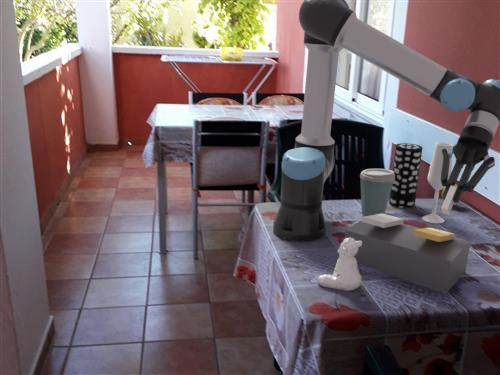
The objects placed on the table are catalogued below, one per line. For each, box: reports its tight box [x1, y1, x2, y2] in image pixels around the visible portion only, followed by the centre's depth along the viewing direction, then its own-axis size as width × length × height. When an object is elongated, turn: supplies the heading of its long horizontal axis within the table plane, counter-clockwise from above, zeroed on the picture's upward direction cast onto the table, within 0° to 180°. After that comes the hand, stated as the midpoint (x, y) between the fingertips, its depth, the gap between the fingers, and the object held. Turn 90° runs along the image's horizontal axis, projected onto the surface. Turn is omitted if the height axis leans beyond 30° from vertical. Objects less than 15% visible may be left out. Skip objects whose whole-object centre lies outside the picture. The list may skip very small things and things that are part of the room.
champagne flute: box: [421, 141, 454, 224], centre depth 150 cm, size 7×7×24 cm
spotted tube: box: [388, 142, 423, 209], centre depth 164 cm, size 8×8×20 cm
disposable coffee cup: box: [359, 168, 395, 217], centre depth 153 cm, size 11×11×15 cm
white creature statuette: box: [317, 237, 363, 292], centre depth 112 cm, size 10×9×12 cm
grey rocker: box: [360, 213, 405, 228], centre depth 124 cm, size 12×6×1 cm, turn 140°
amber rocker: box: [413, 227, 456, 242], centre depth 117 cm, size 12×6×1 cm, turn 140°
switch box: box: [344, 220, 471, 295], centre depth 122 cm, size 14×26×8 cm, turn 50°
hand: (445, 211), depth 119 cm, fingers closed
